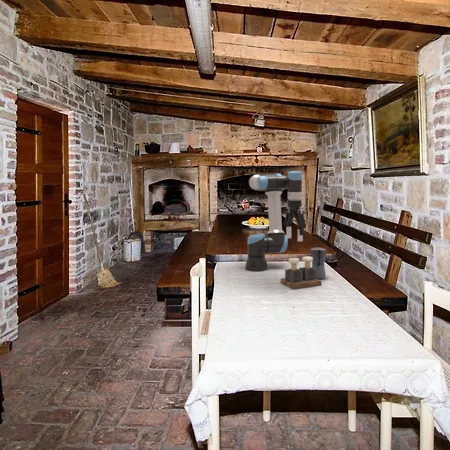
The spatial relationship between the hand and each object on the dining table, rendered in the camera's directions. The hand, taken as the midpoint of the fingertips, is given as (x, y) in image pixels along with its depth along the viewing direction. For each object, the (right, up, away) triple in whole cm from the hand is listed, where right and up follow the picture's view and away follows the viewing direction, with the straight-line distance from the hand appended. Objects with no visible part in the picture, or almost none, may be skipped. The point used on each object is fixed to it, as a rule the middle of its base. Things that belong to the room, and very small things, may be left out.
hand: (294, 239), depth 188 cm
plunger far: (+9, -18, +5) cm, 21 cm away
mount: (+5, -25, +4) cm, 26 cm away
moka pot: (+18, -24, +17) cm, 34 cm away
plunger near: (0, -19, +2) cm, 19 cm away
